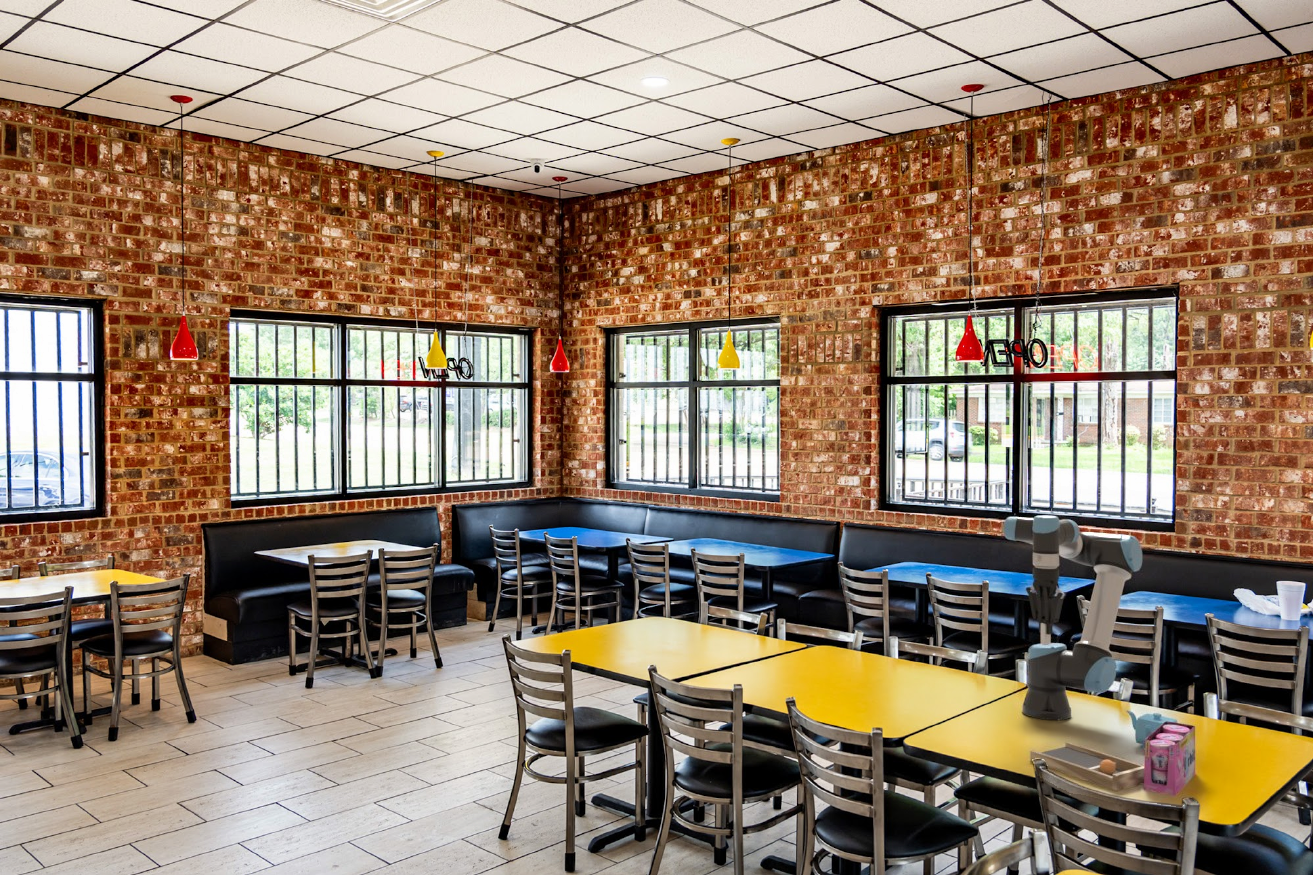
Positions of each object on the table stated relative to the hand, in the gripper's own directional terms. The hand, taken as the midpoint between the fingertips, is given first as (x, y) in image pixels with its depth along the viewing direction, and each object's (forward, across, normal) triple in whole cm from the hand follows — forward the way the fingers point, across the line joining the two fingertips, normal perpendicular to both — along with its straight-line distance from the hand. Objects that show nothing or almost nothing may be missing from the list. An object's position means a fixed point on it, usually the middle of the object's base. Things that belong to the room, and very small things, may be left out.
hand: (1045, 644), depth 309 cm
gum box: (+30, +41, -2) cm, 51 cm away
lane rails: (+29, +25, -13) cm, 40 cm away
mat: (+29, +24, -13) cm, 39 cm away
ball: (+27, +30, -12) cm, 42 cm away
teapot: (+30, +22, +21) cm, 43 cm away
